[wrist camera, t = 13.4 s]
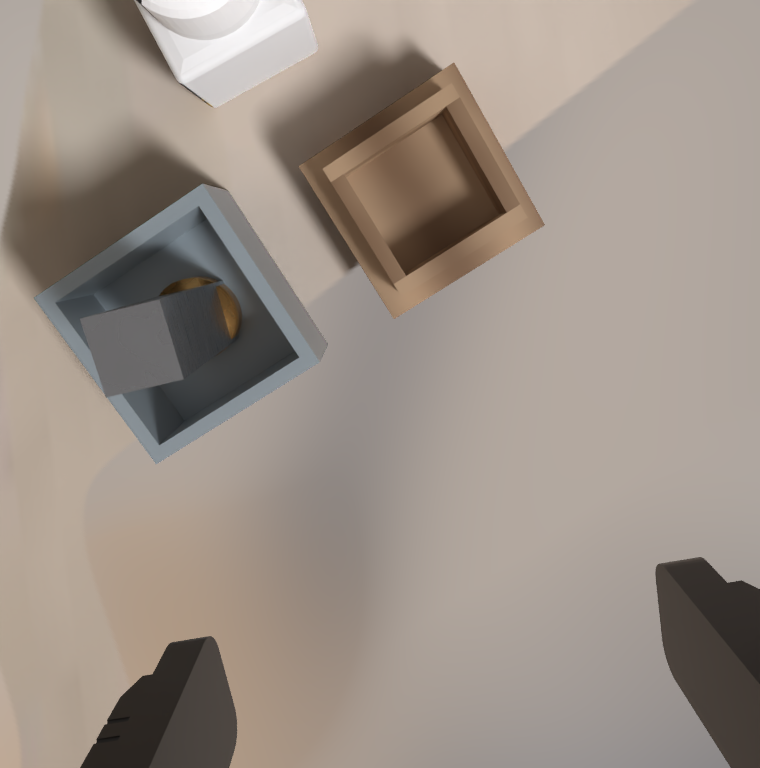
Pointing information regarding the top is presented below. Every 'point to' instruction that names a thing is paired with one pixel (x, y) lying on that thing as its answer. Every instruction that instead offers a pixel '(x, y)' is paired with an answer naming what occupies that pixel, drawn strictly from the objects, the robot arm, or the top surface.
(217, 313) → the strut
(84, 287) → the bin
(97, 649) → the top surface
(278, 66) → the medicine bottle
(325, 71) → the top surface
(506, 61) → the top surface
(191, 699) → the robot arm
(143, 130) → the top surface
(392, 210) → the socket block
